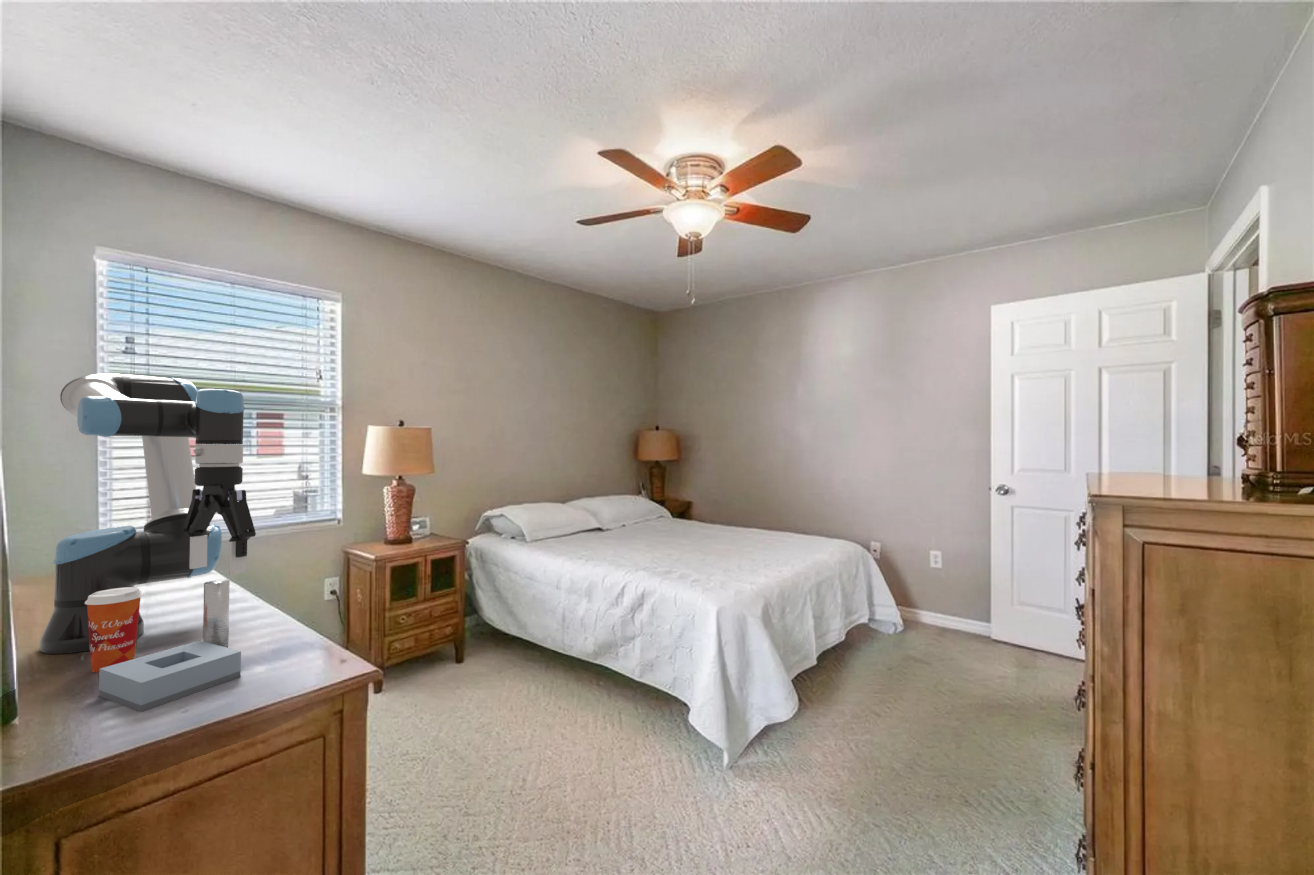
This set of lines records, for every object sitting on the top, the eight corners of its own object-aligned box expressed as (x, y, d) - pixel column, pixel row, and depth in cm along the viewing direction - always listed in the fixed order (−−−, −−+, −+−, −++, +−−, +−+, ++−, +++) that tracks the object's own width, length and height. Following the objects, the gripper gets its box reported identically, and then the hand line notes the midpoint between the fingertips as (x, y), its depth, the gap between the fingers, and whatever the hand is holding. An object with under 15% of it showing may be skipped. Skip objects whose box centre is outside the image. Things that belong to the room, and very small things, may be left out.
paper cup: (74, 678, 95) (76, 599, 95) (94, 662, 102) (96, 589, 102) (133, 670, 98) (134, 594, 99) (149, 655, 105) (150, 584, 105)
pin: (198, 653, 106) (199, 583, 107) (221, 646, 110) (222, 578, 110) (209, 656, 105) (211, 585, 105) (232, 649, 108) (234, 580, 109)
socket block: (98, 695, 88) (99, 668, 88) (199, 664, 101) (199, 640, 101) (140, 711, 83) (141, 682, 83) (240, 676, 96) (241, 651, 96)
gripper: (162, 465, 109) (160, 569, 109) (235, 466, 100) (233, 580, 99) (205, 464, 116) (203, 561, 116) (277, 465, 106) (276, 571, 106)
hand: (217, 570), depth 107 cm, fingers open, 13 cm apart
